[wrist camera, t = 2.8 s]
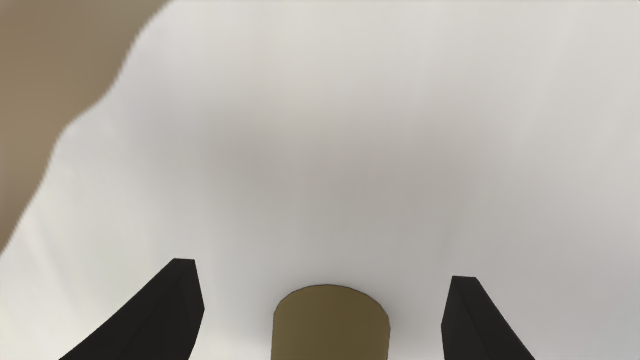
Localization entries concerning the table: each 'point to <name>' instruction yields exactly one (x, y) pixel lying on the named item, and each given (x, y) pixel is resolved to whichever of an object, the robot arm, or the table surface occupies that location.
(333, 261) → the table surface
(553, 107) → the table surface
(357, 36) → the table surface
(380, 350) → the cork
